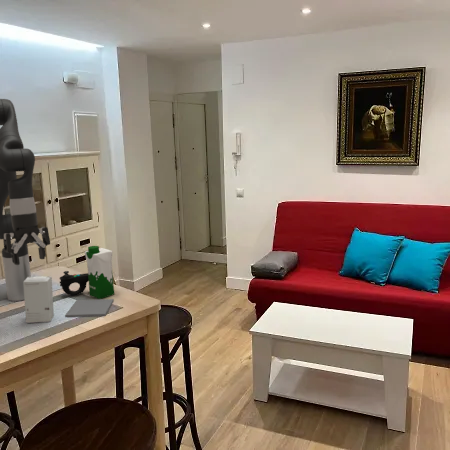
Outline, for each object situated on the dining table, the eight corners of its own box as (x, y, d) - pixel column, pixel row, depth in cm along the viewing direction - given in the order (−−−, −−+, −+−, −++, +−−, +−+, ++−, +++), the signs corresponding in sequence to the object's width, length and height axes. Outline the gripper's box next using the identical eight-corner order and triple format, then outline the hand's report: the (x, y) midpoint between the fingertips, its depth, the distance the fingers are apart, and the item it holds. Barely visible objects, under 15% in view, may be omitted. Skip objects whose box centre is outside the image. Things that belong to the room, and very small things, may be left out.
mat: (76, 301, 173) (76, 300, 173) (113, 300, 173) (113, 299, 173) (65, 317, 159) (65, 315, 159) (105, 316, 160) (105, 313, 159)
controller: (60, 295, 180) (58, 271, 178) (92, 290, 185) (90, 266, 183) (61, 298, 176) (59, 274, 174) (94, 293, 181) (92, 269, 179)
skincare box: (26, 323, 155) (21, 282, 151) (31, 316, 160) (26, 276, 157) (51, 321, 156) (47, 280, 152) (55, 314, 162) (51, 274, 158)
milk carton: (86, 295, 180) (81, 246, 175) (105, 289, 186) (102, 241, 182) (98, 300, 174) (94, 250, 169) (118, 294, 180) (114, 245, 176)
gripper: (38, 209, 153) (44, 256, 155) (-5, 214, 142) (2, 265, 144) (50, 209, 148) (56, 258, 150) (6, 215, 137) (13, 267, 139)
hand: (29, 261), depth 147 cm, fingers open, 8 cm apart
